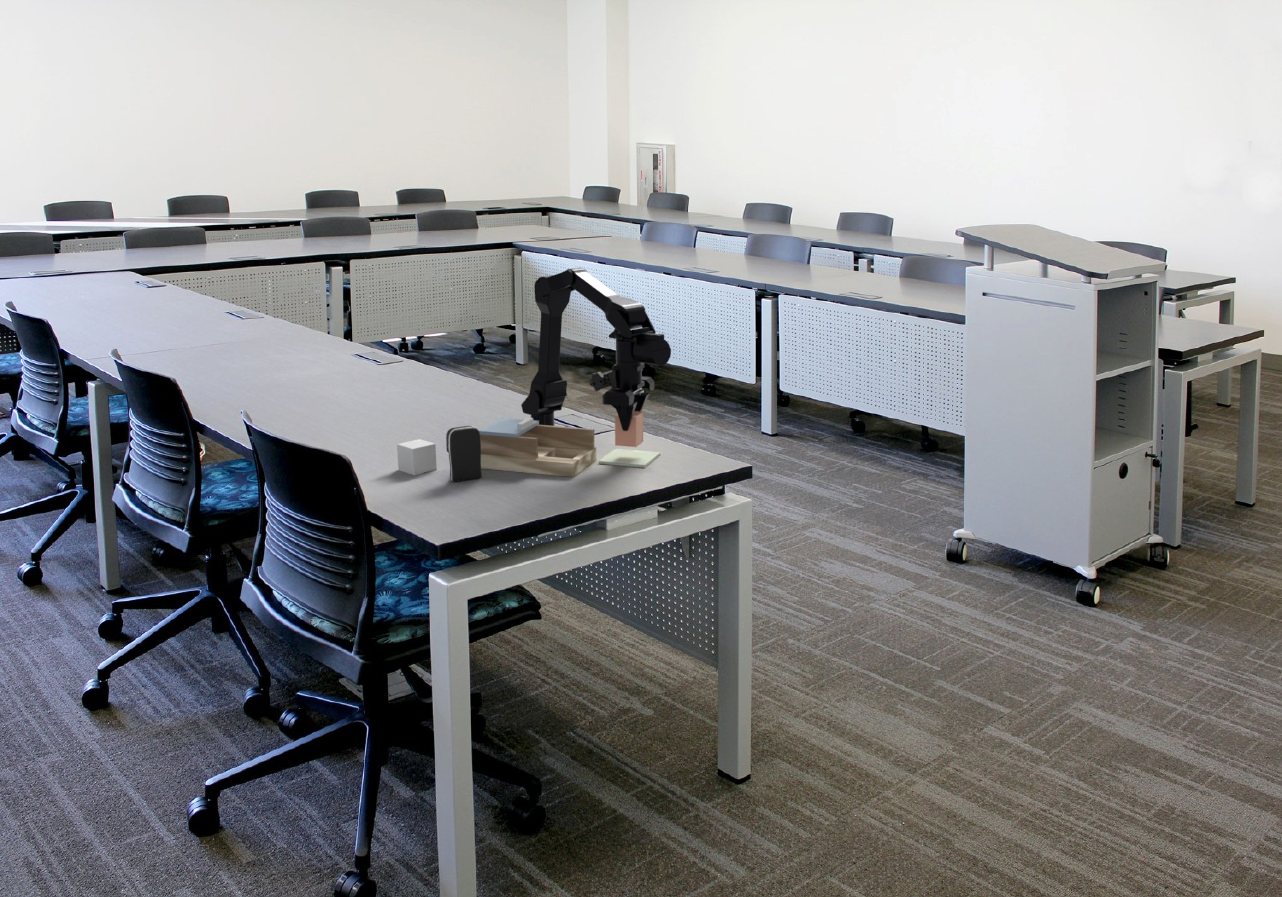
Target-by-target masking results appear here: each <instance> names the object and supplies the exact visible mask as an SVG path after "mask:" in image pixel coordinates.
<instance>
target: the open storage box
mask: <svg viewBox="0 0 1282 897" xmlns="http://www.w3.org/2000/svg"><path fill="white" fill-rule="evenodd" d="M480 441H481V470H482V469H483V470H492V471H493V470H494V471H495V470H496V471H505V472H514V473H515V472H517V473H528V474H537V475H549V476H559V477H568V478H569V477H570V478H574V477H575V476H577V475H578V474H579V473H581V472H582V471H583V470H585V469H587V468H588V467H589V466H591V465H592V464H593V463H595V462H596V461H597V447H596V446H595V429H594V428H585V427H584V428H583V427H571V426H561V425H554V426H548V425H537V426H535V427H534V428H532V429H530V430H529V431H527V432H525V433H523V434H522V435H520V436H518V437H504V436H492V435H480Z"/></svg>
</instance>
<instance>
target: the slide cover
mask: <svg viewBox="0 0 1282 897" xmlns="http://www.w3.org/2000/svg"><path fill="white" fill-rule="evenodd" d="M537 425H539V421H534V420H533V418H531V417H527V418H526V419H525V418H524V419H520V418H505V417H503V418H501V419H499V420H498V421H495V422H493V423H491V424H490V425H487V426H485V427H484V428H482V429H480V430H479V432H480V435H492V436H504V437H518V436H520V435H522V434H523V433H525V432H527V431H529V430H530V429H532V428H534V427H535V426H537Z"/></svg>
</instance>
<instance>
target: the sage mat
mask: <svg viewBox="0 0 1282 897" xmlns="http://www.w3.org/2000/svg"><path fill="white" fill-rule="evenodd" d="M660 456H661V452H658V451H650V450H649V451H648V450H635V449H625V448H624V449H622V448H614V449H613V450H611V451H610V452H609V453H607V454H606V455H605V456H603V457H602V458H601V459H599V460H598V464H601V465H611V466H622V467H623V466H624V467H632V468H644V469H646V467H648V466H649V465H651V463H653V461H655V460H656V459H658V458H659V457H660Z"/></svg>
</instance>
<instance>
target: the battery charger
mask: <svg viewBox="0 0 1282 897" xmlns="http://www.w3.org/2000/svg"><path fill="white" fill-rule="evenodd" d="M479 431H480V430H479V429H478V428H477V427H475V426H473V425H463V426H456V427H452V428H449V429H448V430H447V432H446V434H445V435H446V436H445V440H446V441H445V442H446V443H445V444H446V452H447V453H448V460H449V461H448V462H449V478H450V480H451V481H452V482H462V481H468V480H475V479H480V478H481V477H482V468H481V441H480V432H479Z"/></svg>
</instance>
